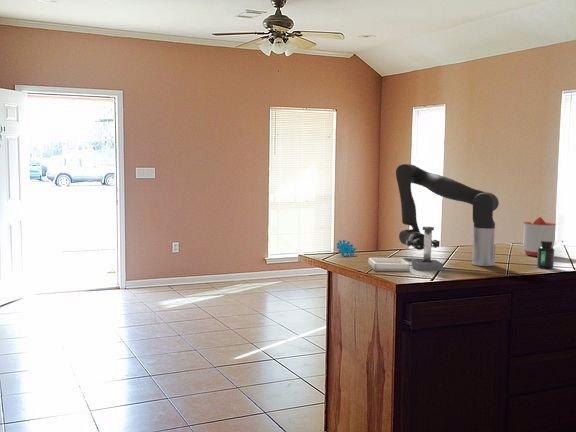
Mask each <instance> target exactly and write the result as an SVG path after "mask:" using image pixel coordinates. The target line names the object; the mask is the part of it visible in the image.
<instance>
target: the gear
mask: <svg viewBox="0 0 576 432" xmlns="http://www.w3.org/2000/svg"><path fill="white" fill-rule="evenodd" d="M350 243H351V242H350V241H349V240H348V241H346V240H345V239H343V240H342V239H341V240H339V241H338V242H337V243H336V245H337V246H336V249H337V252H338V253H340V255H341V256H345V257H347V258H349V257H353V256H354V255H355V254H356V251H357V250H358V247H354V244H353V243H351V244H350ZM345 254H346V255H345Z"/></svg>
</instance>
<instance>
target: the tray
mask: <svg viewBox="0 0 576 432" xmlns="http://www.w3.org/2000/svg"><path fill="white" fill-rule="evenodd" d="M367 259H368V262H367V265H368V266H369V267H370V268H371V269H372V270H373V271H376V272H410V271H411V264H410V263H408V262H407V261H406V260H405V259H403V258H400V257H398V258H395V257H391V258H390V257H368V258H367Z"/></svg>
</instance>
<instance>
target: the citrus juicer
mask: <svg viewBox="0 0 576 432" xmlns="http://www.w3.org/2000/svg"><path fill="white" fill-rule="evenodd" d="M556 225H557V223H554V222H545V220H544V219H543V218H542V217H540V216H538V218H536V219H535V220H534V221H533V223H532V222H531V221H523V236H522V238H523V239H522V241H523V243H522V244H523V248H524V253H525V255H526V256H531V255H532V256H531V257H538V248H539V247H541V245H540V244H541V241H551V242H552V248H553V249H554V246H555V237H556Z"/></svg>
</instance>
